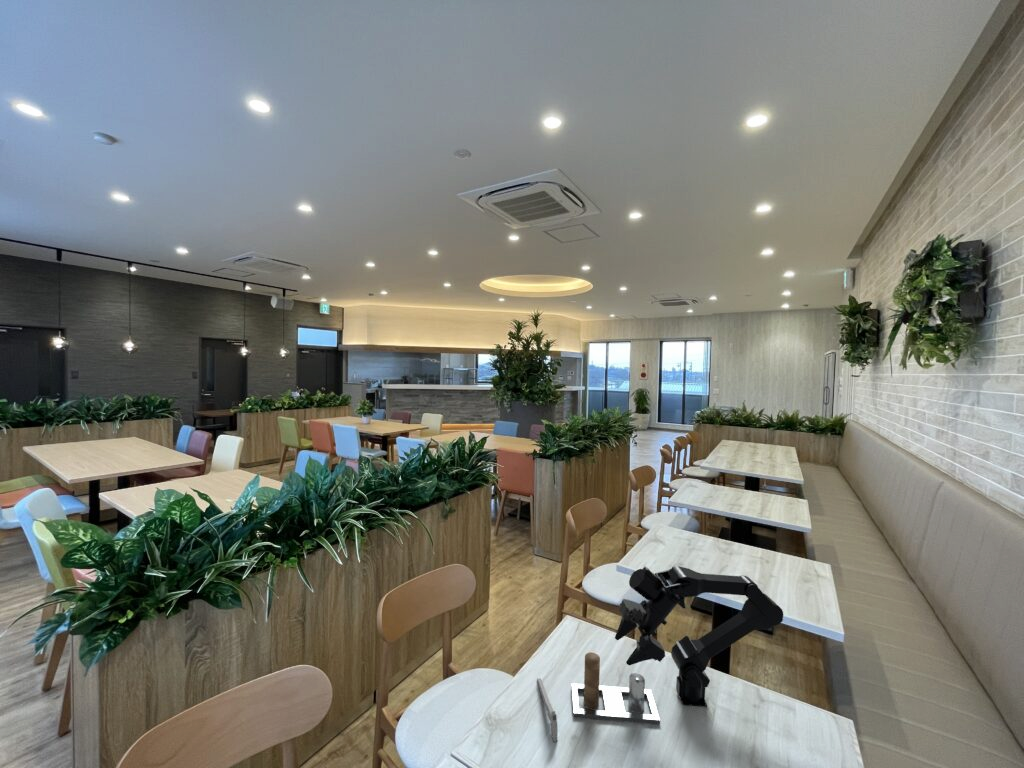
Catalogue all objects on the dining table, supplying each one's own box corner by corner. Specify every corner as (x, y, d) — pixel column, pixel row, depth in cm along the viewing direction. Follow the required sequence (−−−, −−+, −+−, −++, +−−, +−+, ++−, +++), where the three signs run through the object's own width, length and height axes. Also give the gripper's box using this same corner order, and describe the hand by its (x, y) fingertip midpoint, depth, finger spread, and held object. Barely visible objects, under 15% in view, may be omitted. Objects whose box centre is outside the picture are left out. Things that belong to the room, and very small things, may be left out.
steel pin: (642, 701, 116) (643, 673, 115) (645, 713, 112) (646, 685, 111) (627, 700, 116) (628, 672, 116) (629, 712, 112) (630, 683, 112)
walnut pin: (594, 696, 117) (595, 651, 117) (601, 707, 114) (602, 661, 113) (581, 698, 116) (582, 653, 116) (587, 710, 113) (588, 664, 112)
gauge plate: (650, 693, 119) (650, 689, 118) (659, 724, 109) (660, 720, 109) (571, 687, 120) (571, 683, 120) (573, 717, 110) (573, 712, 110)
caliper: (557, 743, 103) (558, 719, 103) (553, 743, 103) (553, 719, 103) (540, 679, 123) (540, 659, 123) (536, 680, 123) (537, 659, 123)
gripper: (624, 572, 124) (590, 613, 124) (650, 614, 105) (610, 661, 106) (652, 593, 125) (618, 633, 126) (682, 638, 107) (642, 684, 107)
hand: (621, 651), depth 116 cm, fingers open, 9 cm apart
